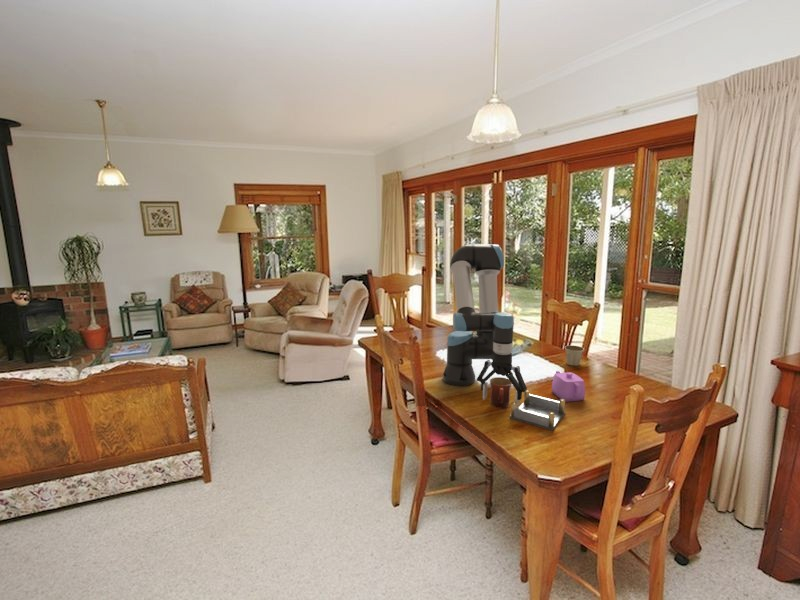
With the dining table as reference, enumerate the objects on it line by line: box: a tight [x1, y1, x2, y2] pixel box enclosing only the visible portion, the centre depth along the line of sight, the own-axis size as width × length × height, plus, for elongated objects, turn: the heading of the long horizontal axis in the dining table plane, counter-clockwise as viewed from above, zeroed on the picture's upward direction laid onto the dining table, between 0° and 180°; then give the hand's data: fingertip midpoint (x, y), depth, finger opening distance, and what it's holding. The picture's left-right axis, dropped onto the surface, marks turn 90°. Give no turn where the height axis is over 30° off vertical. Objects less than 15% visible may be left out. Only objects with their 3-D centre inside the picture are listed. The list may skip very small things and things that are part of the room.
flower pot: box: [564, 344, 585, 367], centre depth 213 cm, size 9×9×9 cm
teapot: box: [551, 370, 586, 402], centre depth 176 cm, size 18×10×10 cm, turn 8°
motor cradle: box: [509, 389, 566, 431], centre depth 158 cm, size 16×16×6 cm
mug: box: [489, 376, 513, 409], centre depth 166 cm, size 12×9×10 cm
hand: (500, 402), depth 166 cm, fingers open, 13 cm apart
